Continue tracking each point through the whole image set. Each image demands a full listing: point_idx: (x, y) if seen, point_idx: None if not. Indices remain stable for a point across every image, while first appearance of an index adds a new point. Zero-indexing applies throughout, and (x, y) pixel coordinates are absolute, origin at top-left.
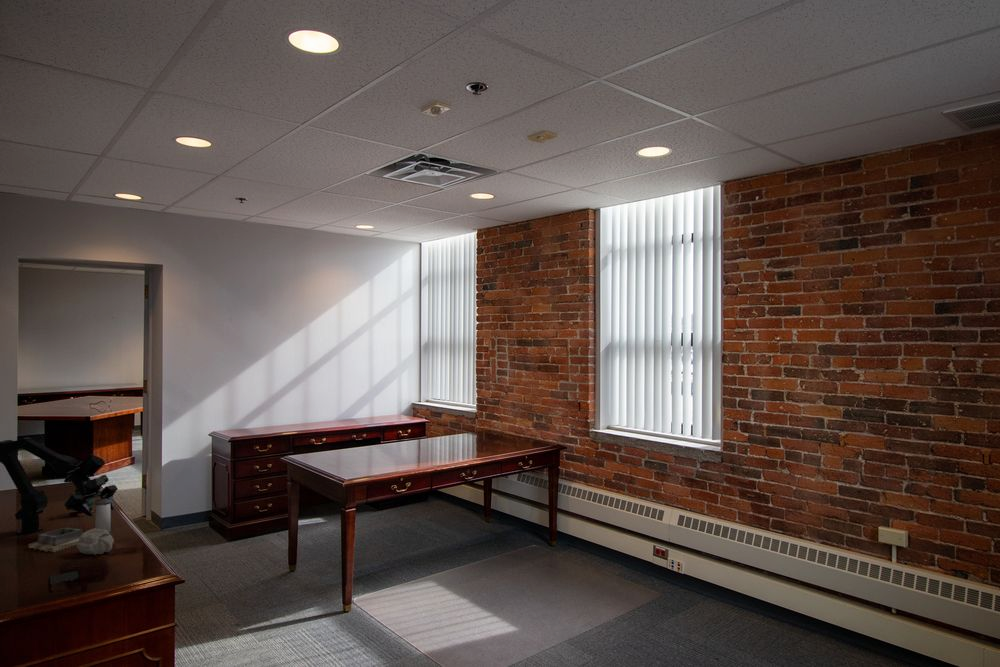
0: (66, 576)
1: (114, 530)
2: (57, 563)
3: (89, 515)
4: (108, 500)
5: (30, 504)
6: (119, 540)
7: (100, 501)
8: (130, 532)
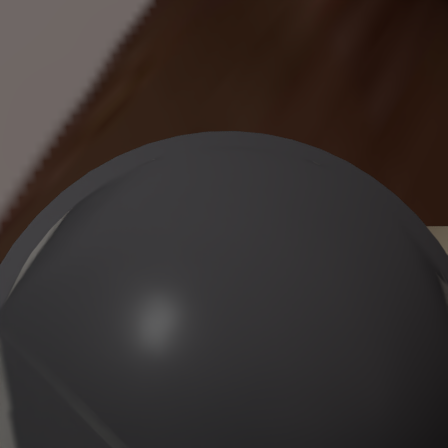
0: None
1: None
2: None
3: None
4: (183, 165)
5: None
6: (261, 44)
7: (379, 305)
8: (83, 129)
